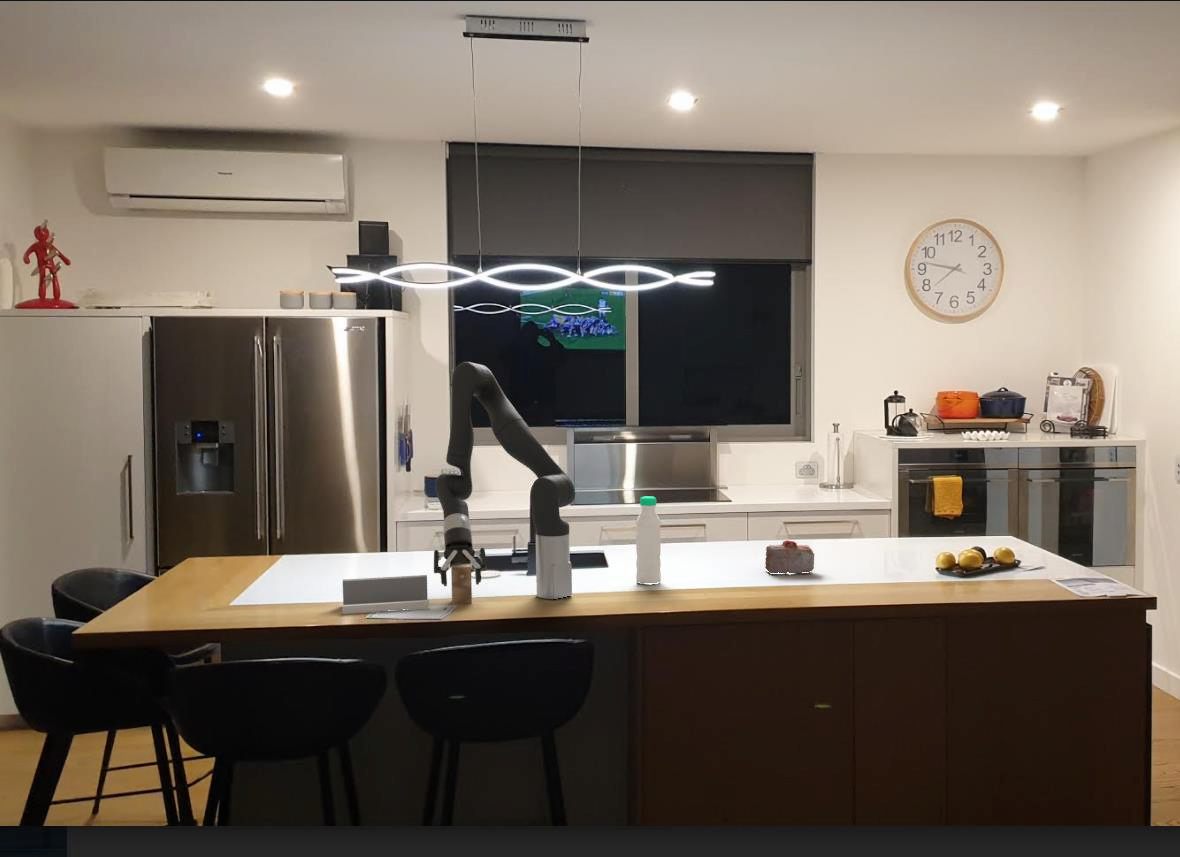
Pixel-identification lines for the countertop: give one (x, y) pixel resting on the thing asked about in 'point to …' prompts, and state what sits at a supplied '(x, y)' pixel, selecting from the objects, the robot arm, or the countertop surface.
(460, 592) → the walnut cabinet block
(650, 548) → the water bottle
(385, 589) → the grey display ledge
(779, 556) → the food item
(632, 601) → the countertop surface
